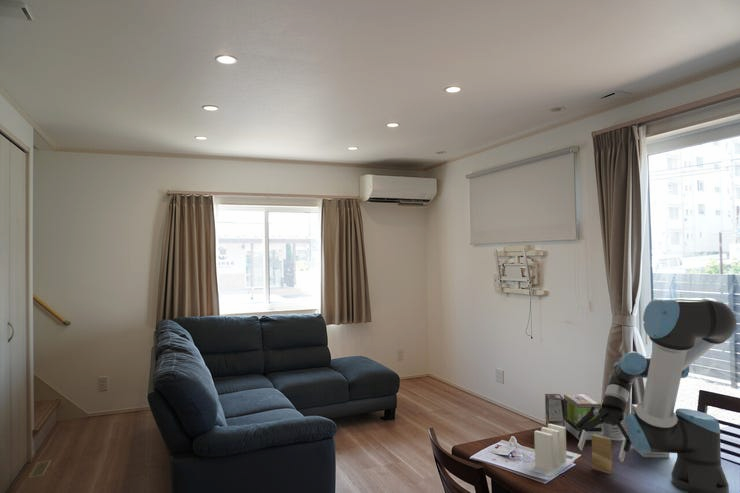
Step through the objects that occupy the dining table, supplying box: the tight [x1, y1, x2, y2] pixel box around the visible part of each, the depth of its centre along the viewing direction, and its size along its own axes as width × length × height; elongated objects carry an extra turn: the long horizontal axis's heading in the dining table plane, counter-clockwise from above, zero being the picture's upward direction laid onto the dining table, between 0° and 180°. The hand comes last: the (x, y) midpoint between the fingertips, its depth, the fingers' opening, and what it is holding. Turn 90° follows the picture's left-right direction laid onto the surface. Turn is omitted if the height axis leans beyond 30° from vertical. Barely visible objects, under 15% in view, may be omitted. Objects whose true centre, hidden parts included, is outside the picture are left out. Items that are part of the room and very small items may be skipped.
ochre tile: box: [591, 434, 613, 475], centre depth 165 cm, size 2×6×12 cm, turn 43°
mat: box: [524, 450, 582, 477], centre depth 173 cm, size 25×9×1 cm, turn 133°
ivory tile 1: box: [548, 424, 567, 463], centre depth 175 cm, size 2×6×12 cm, turn 43°
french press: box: [601, 374, 626, 441], centre depth 199 cm, size 10×12×25 cm
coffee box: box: [544, 393, 565, 428], centre depth 200 cm, size 9×6×16 cm
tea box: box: [563, 393, 603, 441], centre depth 202 cm, size 15×10×15 cm
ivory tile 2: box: [540, 426, 560, 467], centre depth 171 cm, size 2×6×12 cm, turn 43°
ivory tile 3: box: [534, 429, 554, 471], centre depth 168 cm, size 2×6×12 cm, turn 43°
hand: (599, 453), depth 165 cm, fingers open, 13 cm apart
